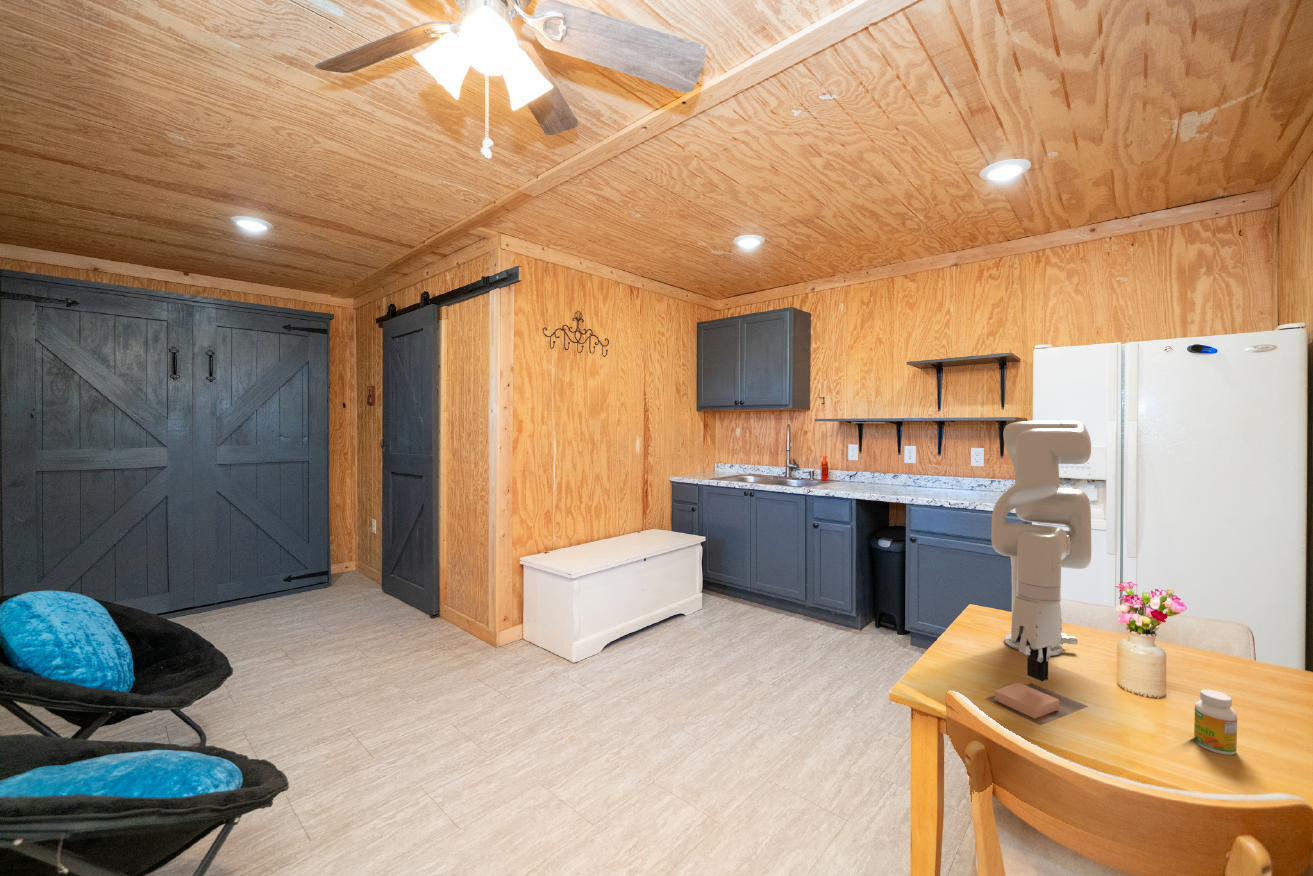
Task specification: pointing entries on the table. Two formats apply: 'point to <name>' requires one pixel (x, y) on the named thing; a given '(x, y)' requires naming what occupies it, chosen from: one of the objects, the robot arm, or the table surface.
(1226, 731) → the supplement bottle
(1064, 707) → the board
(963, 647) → the table surface
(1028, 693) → the tile
